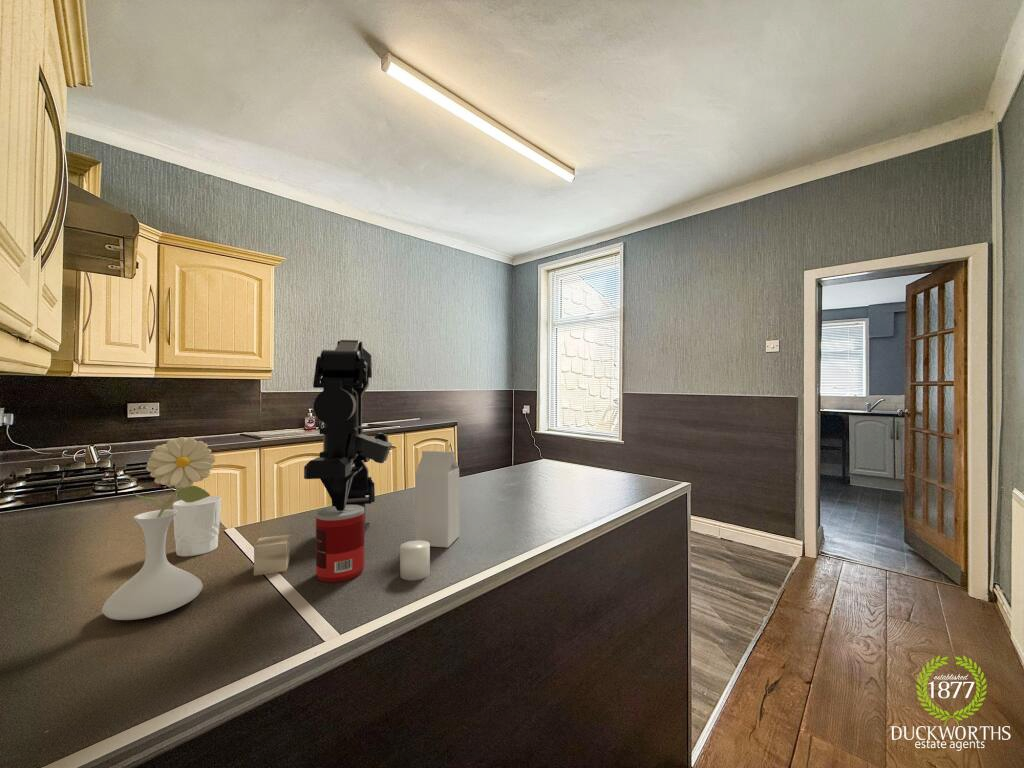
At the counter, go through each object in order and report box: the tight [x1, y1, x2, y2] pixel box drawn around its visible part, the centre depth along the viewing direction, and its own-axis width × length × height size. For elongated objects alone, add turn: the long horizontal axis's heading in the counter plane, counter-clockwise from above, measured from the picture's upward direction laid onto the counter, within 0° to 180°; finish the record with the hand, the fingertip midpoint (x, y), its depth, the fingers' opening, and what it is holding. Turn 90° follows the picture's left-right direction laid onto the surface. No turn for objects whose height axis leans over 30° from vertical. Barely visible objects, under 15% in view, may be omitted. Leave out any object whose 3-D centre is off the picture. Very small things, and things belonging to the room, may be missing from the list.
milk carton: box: [415, 450, 460, 548], centre depth 91 cm, size 7×7×19 cm
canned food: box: [315, 505, 366, 583], centre depth 75 cm, size 8×8×11 cm
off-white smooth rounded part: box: [399, 539, 431, 581], centre depth 74 cm, size 5×5×5 cm
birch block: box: [253, 534, 291, 577], centre depth 77 cm, size 5×5×5 cm
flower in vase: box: [101, 436, 216, 621], centre depth 64 cm, size 13×11×25 cm
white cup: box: [172, 495, 222, 557], centre depth 86 cm, size 8×8×10 cm
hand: (340, 510), depth 75 cm, fingers closed, pressing on canned food
